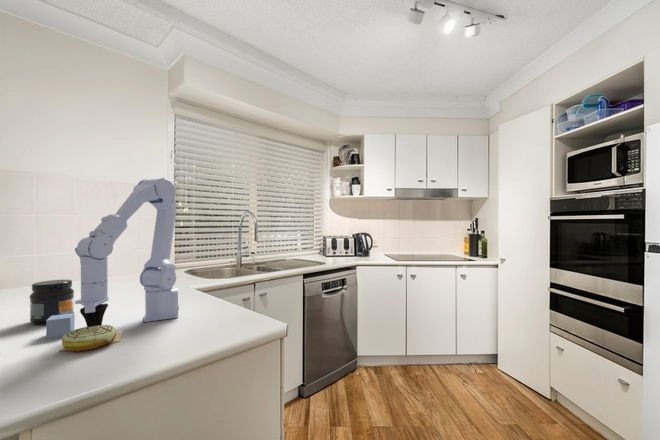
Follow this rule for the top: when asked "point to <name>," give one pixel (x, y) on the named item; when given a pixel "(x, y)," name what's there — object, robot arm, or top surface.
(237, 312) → the top surface
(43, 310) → the supplement container
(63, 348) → the letter card
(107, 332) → the decorated donut
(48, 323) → the powder blue cube
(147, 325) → the top surface
